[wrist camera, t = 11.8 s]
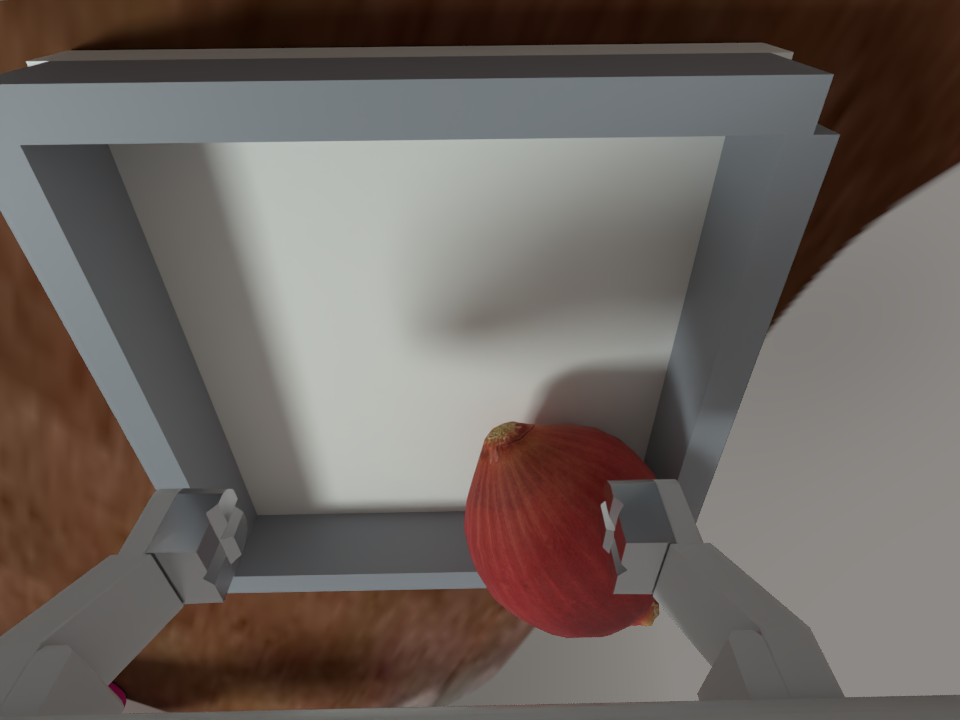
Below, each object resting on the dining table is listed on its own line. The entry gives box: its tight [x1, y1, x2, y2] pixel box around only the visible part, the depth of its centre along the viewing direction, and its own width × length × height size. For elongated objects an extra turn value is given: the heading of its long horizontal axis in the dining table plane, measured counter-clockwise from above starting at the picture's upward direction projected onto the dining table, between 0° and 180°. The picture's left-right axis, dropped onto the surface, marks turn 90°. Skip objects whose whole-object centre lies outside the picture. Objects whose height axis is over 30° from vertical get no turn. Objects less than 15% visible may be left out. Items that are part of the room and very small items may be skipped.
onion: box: [464, 421, 659, 638], centre depth 16 cm, size 6×6×8 cm
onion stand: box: [0, 43, 840, 593], centre depth 16 cm, size 16×16×4 cm
